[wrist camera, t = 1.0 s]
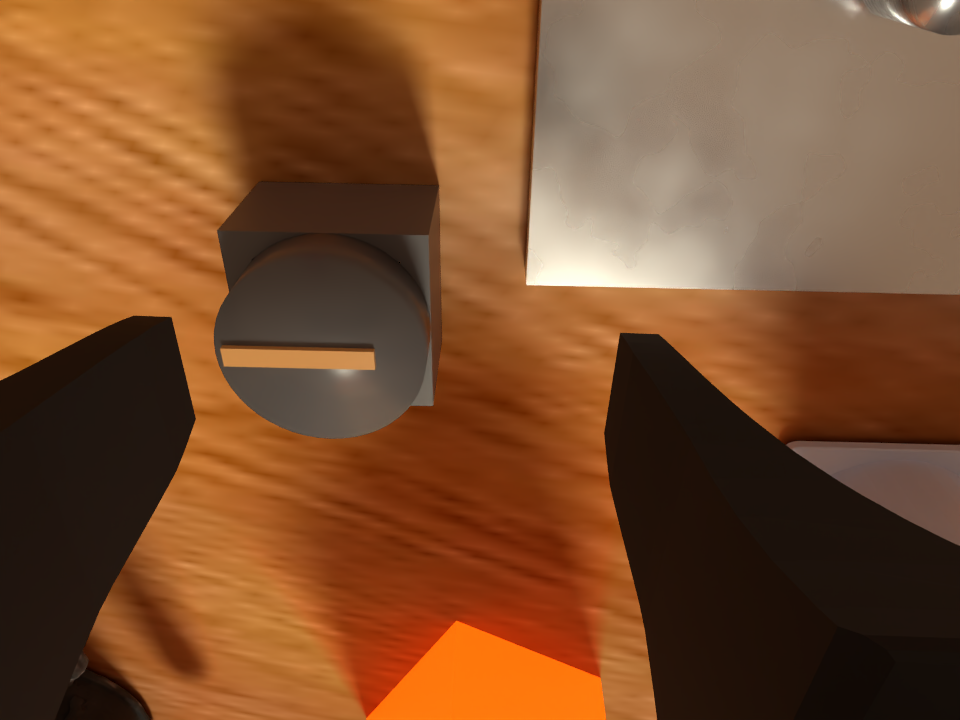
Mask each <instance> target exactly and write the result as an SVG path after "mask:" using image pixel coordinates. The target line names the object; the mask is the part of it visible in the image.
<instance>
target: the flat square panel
mask: <svg viewBox="0 0 960 720" xmlns="http://www.w3.org/2000/svg"><path fill="white" fill-rule="evenodd" d="M525 277H526V285H552V286H596V287H640V288H684V289H729V290H773V291H817V292H862V293H906V294H950V295H960V0H539V16H538V35H537V54H536V73H535V91H534V110H533V129H532V148H531V166H530V185H529V204H528V223H527V241H526V260H525Z"/></svg>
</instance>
